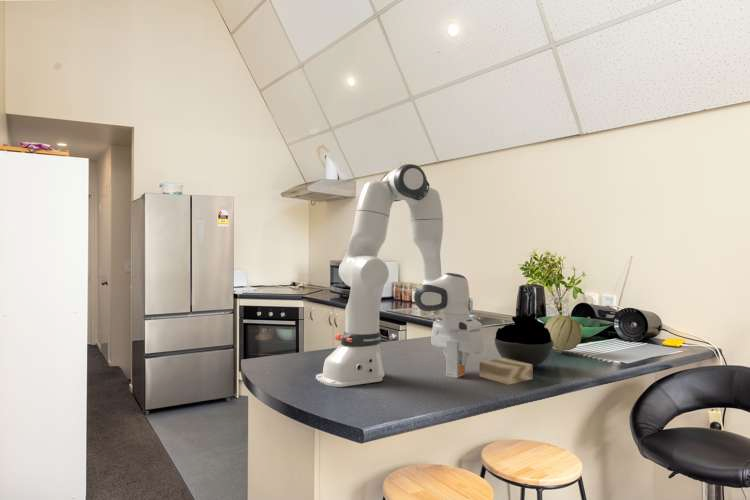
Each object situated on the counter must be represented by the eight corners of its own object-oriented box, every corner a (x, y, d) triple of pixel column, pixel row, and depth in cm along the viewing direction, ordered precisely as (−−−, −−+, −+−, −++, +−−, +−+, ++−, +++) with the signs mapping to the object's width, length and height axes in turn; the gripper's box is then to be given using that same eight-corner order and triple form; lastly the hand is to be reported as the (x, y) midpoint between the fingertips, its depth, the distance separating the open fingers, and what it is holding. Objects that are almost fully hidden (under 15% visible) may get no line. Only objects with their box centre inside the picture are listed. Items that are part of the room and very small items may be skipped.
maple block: (508, 385, 151) (508, 369, 151) (479, 377, 161) (479, 362, 161) (532, 379, 158) (532, 364, 158) (503, 372, 168) (503, 357, 167)
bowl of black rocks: (513, 376, 160) (513, 319, 160) (484, 362, 180) (484, 312, 180) (565, 372, 166) (565, 317, 166) (531, 359, 185) (531, 310, 185)
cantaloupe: (536, 348, 205) (536, 313, 205) (562, 345, 211) (562, 311, 211) (563, 355, 192) (563, 317, 192) (589, 351, 198) (589, 315, 198)
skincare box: (457, 378, 158) (457, 341, 158) (445, 376, 160) (445, 340, 160) (465, 374, 163) (465, 339, 163) (454, 372, 165) (454, 337, 165)
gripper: (426, 319, 168) (427, 359, 168) (473, 326, 152) (473, 370, 152) (439, 317, 172) (439, 356, 172) (486, 324, 156) (486, 367, 156)
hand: (455, 363), depth 162 cm, fingers closed on skincare box, 5 cm apart
